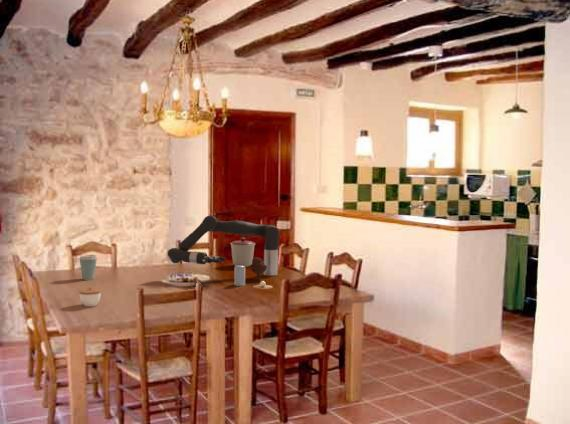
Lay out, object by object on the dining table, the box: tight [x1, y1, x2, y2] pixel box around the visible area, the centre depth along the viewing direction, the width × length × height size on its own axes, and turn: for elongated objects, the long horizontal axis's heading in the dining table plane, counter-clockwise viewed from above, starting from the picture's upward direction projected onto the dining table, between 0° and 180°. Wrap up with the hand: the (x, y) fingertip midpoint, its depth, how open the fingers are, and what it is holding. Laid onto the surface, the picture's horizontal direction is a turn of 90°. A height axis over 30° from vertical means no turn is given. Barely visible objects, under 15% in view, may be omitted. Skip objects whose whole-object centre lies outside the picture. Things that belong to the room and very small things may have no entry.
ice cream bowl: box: [249, 256, 267, 281], centre depth 385 cm, size 11×11×15 cm
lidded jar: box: [78, 286, 102, 307], centre depth 310 cm, size 11×11×9 cm
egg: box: [259, 280, 267, 287], centre depth 363 cm, size 3×3×3 cm
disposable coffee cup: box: [79, 254, 98, 281], centre depth 376 cm, size 11×11×15 cm
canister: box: [230, 236, 256, 268], centre depth 435 cm, size 18×18×21 cm
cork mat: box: [252, 284, 273, 290], centre depth 363 cm, size 12×12×1 cm
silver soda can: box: [233, 265, 246, 287], centre depth 367 cm, size 6×6×12 cm
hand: (222, 260), depth 371 cm, fingers open, 8 cm apart
